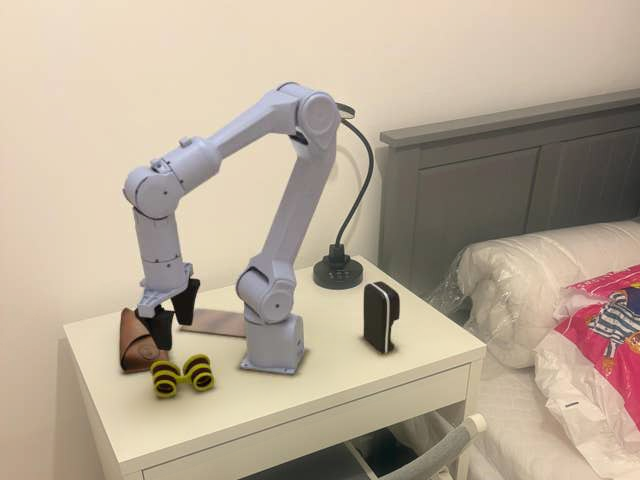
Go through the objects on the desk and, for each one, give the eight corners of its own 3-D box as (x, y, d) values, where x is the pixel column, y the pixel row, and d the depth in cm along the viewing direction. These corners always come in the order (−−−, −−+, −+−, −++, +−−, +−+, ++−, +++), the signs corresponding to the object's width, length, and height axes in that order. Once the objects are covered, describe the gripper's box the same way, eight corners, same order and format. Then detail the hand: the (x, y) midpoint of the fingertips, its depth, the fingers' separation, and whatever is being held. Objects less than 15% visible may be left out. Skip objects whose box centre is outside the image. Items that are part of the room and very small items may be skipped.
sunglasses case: (172, 364, 112) (146, 338, 108) (140, 387, 112) (113, 362, 109) (166, 315, 126) (143, 290, 122) (138, 335, 127) (113, 312, 123)
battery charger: (400, 350, 115) (403, 291, 108) (382, 356, 113) (384, 297, 107) (379, 332, 120) (381, 275, 113) (361, 338, 118) (362, 280, 112)
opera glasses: (156, 403, 105) (151, 382, 101) (152, 381, 108) (147, 359, 104) (216, 392, 107) (214, 370, 103) (210, 370, 110) (208, 348, 107)
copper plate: (259, 317, 126) (259, 315, 126) (245, 337, 119) (245, 336, 119) (197, 310, 128) (197, 309, 128) (180, 330, 122) (180, 329, 122)
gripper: (158, 233, 100) (171, 311, 108) (110, 273, 89) (129, 357, 96) (201, 236, 99) (211, 316, 106) (158, 278, 87) (173, 363, 95)
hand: (175, 336), depth 101 cm, fingers open, 7 cm apart
